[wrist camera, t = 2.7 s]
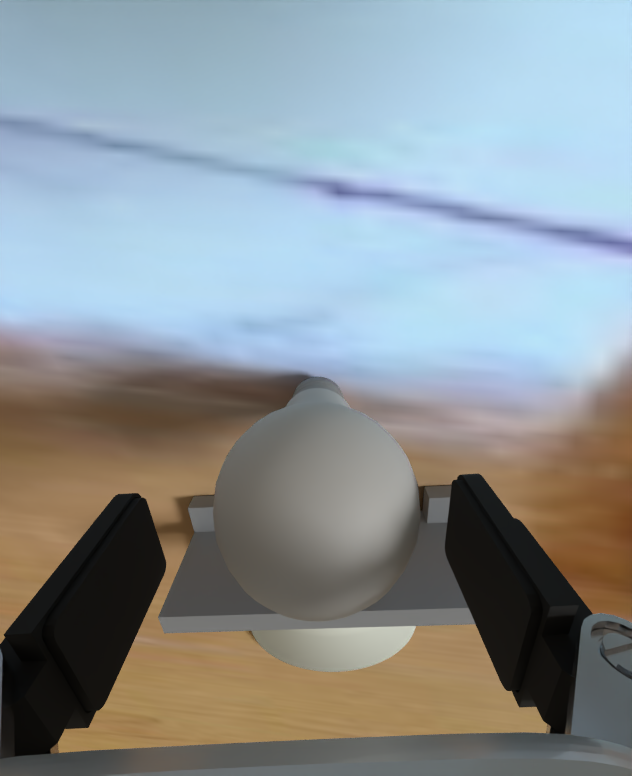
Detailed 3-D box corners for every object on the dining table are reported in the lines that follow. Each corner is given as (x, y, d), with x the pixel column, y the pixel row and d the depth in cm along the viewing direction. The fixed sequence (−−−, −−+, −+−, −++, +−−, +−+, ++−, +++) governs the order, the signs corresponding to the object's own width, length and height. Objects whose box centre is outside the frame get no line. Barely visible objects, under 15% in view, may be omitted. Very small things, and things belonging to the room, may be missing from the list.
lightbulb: (269, 446, 19) (212, 680, 9) (250, 342, 16) (141, 502, 6) (377, 437, 19) (445, 669, 9) (374, 330, 16) (465, 478, 6)
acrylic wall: (193, 496, 20) (147, 590, 15) (458, 485, 20) (511, 578, 14) (209, 554, 22) (173, 656, 17) (449, 545, 22) (493, 647, 16)
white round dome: (239, 558, 23) (236, 569, 22) (418, 552, 22) (421, 562, 21) (262, 661, 27) (260, 673, 27) (409, 658, 27) (411, 669, 26)
